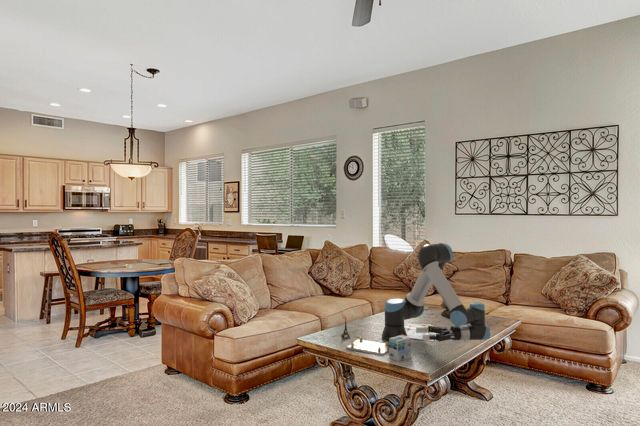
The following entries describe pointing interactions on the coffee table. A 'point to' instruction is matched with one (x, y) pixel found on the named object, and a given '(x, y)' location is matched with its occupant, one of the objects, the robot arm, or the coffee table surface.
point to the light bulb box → (400, 347)
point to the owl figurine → (445, 312)
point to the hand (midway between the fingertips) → (419, 333)
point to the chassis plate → (369, 347)
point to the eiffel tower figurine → (345, 333)
